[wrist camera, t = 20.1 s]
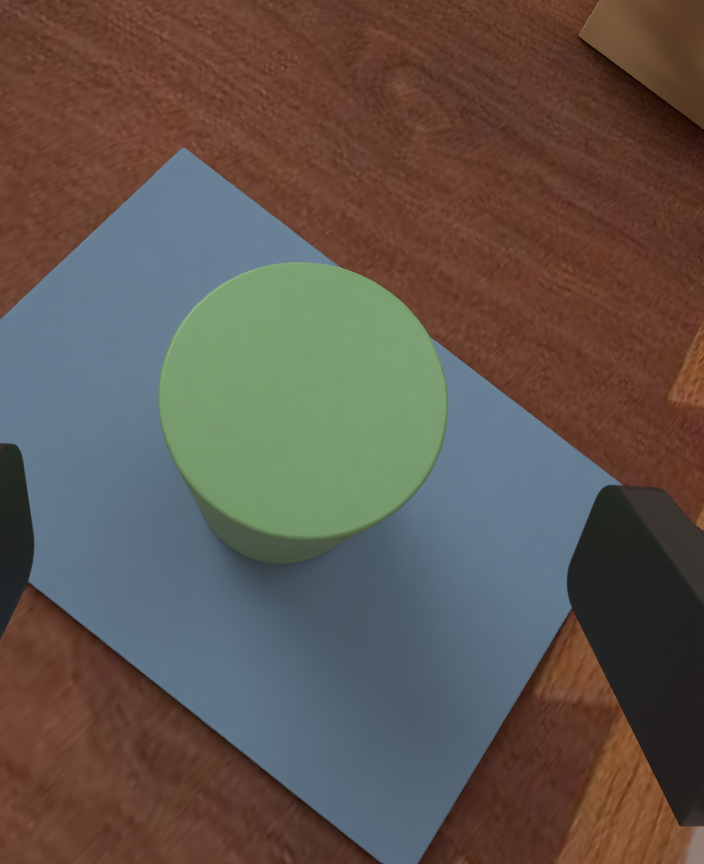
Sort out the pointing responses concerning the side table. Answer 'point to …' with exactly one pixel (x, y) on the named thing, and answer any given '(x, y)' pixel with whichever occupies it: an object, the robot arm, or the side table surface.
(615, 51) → the maple block
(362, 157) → the side table surface
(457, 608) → the blue mat
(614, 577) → the robot arm
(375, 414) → the green canister
